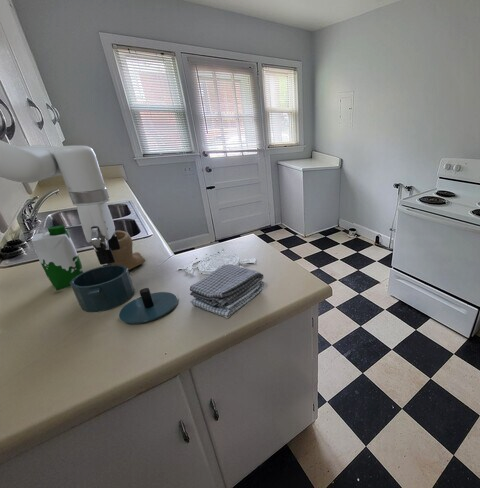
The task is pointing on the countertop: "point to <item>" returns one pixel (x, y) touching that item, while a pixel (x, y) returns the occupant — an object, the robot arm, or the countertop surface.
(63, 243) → the milk carton
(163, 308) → the lid
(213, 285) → the towel
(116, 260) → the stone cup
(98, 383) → the countertop surface
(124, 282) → the pot
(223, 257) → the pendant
